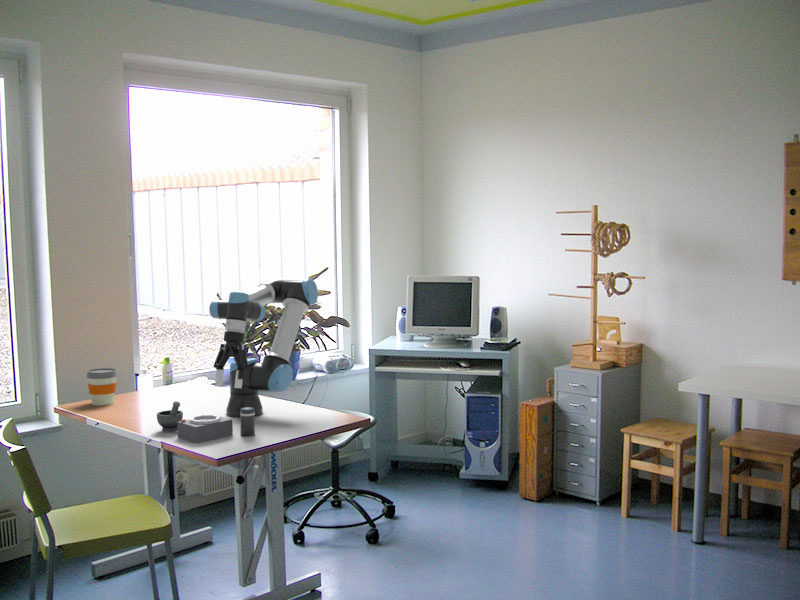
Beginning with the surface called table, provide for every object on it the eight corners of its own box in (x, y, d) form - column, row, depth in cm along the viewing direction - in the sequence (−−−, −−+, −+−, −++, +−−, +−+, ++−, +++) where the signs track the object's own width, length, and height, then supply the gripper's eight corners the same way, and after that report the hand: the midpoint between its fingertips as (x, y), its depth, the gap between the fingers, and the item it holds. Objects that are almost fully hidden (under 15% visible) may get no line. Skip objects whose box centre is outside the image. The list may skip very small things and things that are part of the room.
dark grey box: (214, 429, 298) (213, 411, 298) (232, 435, 290) (232, 416, 290) (177, 437, 286) (177, 419, 286) (196, 443, 278) (195, 424, 278)
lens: (249, 432, 294) (248, 406, 294) (257, 434, 291) (257, 408, 290) (237, 435, 290) (237, 408, 290) (246, 437, 287) (245, 410, 286)
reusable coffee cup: (122, 400, 351) (121, 368, 350) (111, 406, 339) (110, 373, 337) (94, 400, 351) (93, 368, 350) (82, 406, 339) (81, 372, 338)
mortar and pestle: (152, 430, 297) (152, 399, 296) (174, 426, 304) (173, 396, 303) (168, 435, 289) (167, 404, 288) (189, 431, 296) (189, 400, 295)
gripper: (208, 330, 300) (202, 385, 297) (244, 330, 282) (237, 387, 279) (225, 333, 305) (218, 386, 302) (261, 332, 288) (255, 389, 285)
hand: (227, 387), depth 291 cm, fingers open, 13 cm apart
